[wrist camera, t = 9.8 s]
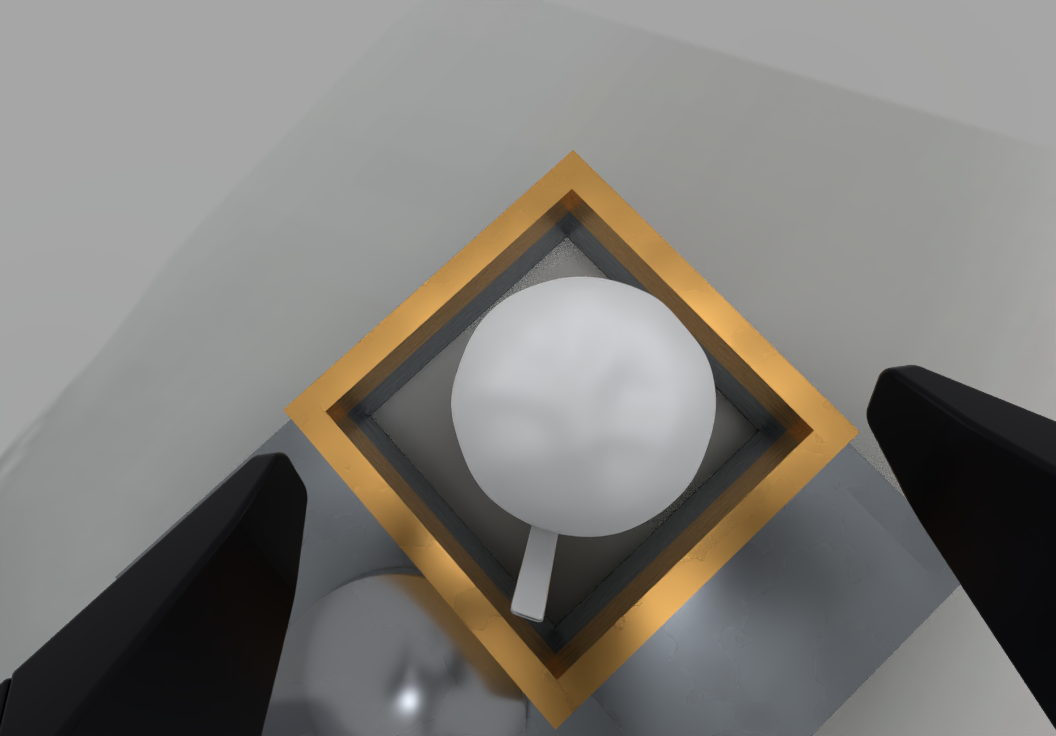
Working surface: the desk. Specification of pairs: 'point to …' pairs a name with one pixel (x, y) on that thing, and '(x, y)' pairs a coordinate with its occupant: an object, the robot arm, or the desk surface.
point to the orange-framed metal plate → (636, 584)
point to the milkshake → (580, 414)
